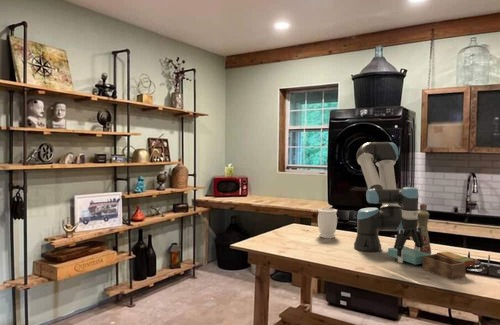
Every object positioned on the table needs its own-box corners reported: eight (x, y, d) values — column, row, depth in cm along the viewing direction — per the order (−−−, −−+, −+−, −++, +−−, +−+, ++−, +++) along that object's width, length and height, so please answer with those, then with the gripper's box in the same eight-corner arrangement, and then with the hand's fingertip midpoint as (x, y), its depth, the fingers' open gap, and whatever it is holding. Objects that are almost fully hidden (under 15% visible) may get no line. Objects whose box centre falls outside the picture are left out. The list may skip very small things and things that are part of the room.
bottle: (434, 254, 198) (435, 203, 197) (427, 257, 193) (428, 205, 191) (418, 250, 205) (419, 201, 204) (411, 253, 199) (411, 203, 198)
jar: (313, 235, 241) (313, 208, 240) (328, 233, 246) (328, 207, 246) (326, 239, 229) (326, 211, 229) (341, 237, 235) (341, 210, 234)
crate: (422, 270, 171) (422, 256, 171) (435, 268, 175) (435, 253, 175) (451, 281, 158) (452, 265, 157) (465, 278, 161) (465, 262, 161)
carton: (448, 259, 191) (448, 251, 191) (476, 268, 176) (476, 259, 176) (436, 260, 188) (436, 252, 188) (463, 270, 173) (463, 261, 173)
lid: (388, 255, 188) (388, 248, 188) (403, 252, 193) (403, 246, 192) (415, 264, 173) (415, 257, 172) (431, 261, 177) (431, 254, 177)
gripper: (398, 221, 174) (397, 266, 174) (432, 217, 183) (431, 260, 184) (386, 218, 180) (385, 262, 181) (419, 215, 190) (419, 256, 191)
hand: (408, 261), depth 183 cm, fingers closed on lid, 11 cm apart
